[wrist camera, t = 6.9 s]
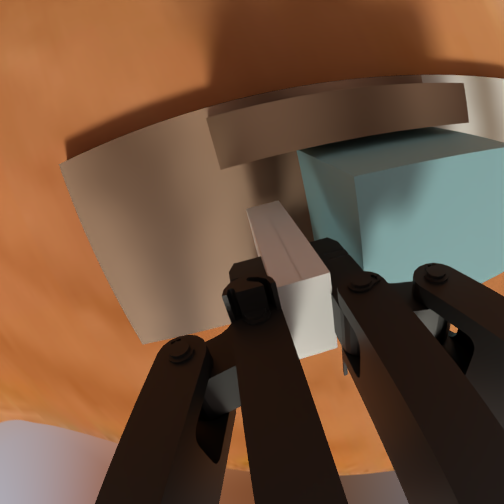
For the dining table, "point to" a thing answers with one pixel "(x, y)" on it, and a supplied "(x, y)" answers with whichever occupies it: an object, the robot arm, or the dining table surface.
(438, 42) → the dining table surface
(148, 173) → the walnut board
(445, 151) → the teal block
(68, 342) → the dining table surface
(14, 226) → the dining table surface
